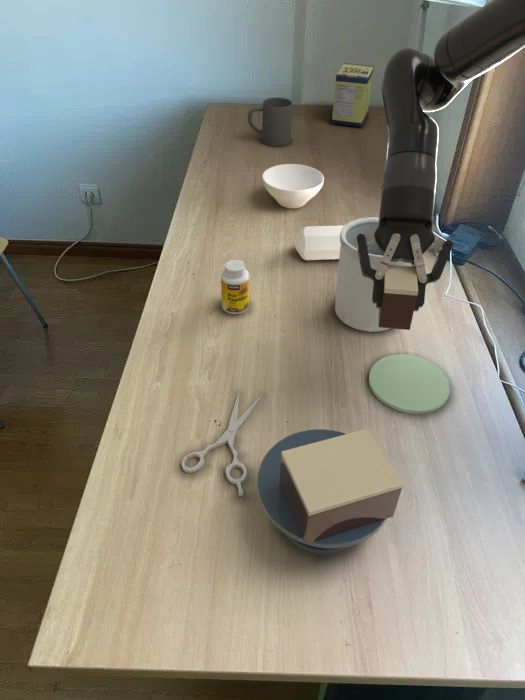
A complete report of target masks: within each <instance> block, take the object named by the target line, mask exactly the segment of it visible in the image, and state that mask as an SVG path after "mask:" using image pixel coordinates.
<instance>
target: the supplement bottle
mask: <svg viewBox="0 0 525 700" xmlns="http://www.w3.org/2000/svg"><path fill="white" fill-rule="evenodd" d="M220 290H221V291H220V293H221V308H222V310H223V311H224V312H226V313H228V314H230V315H239V314H243V313H245V312H247V310H248V309H249V306H250V274H249V271H248V270H247V269H246V263H245V262H244V261H242V260H239V259H231V260H228V261H226V262H225V263H224V270H222V272H221V273H220Z"/></svg>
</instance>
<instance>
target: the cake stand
mask: <svg viewBox="0 0 525 700" xmlns="http://www.w3.org/2000/svg"><path fill="white" fill-rule="evenodd" d="M394 468H395V467H393V465H392V464H391V462H390V460H389V459H388V457H387V456H386V453H385V452H384V450H383V449H382V447H381V446H380V444H379V442H378V441H377V440H376V438H375V436H374V434H373V433H372V431H371V430H370V428H365V429H361V430H358V431H353V432H350V433H345V432H342V431H338V430H333V429H322V428H321V429H318V428H315V429H306V430H301V431H298V432H295V433H292V434H290V435H288V436H286V437H284V438H282V439H280V440H279V441H277V443H275V444H274V445H273V446H272V447H271V448H269V450H268V451H267V453H266V454H265V455H264V457H263V458H262V461H261V462H260V466H259V469H258V473H257V494H258V499H259V502H260V506H261V507H262V509H263V511H264V513H265V514H266V516H267V518H268V519H269V520H270V521H271V522H272V524H273V525H274V526H275V527H276V528H277V529H278V530H280V531H281V533H283V534H284V535H285V536H286V538H287V539H288V540H289V541H290V542H291V543H292V544H294V545H295V546H297V548H299V549H301V550H304V551H306V552H308V553H312V554H317V555H331V554H335V553H340V552H342V551H344V550H346V549H348V548H349V547H351V546H355V545H358V544H361V543H363V542H365V541H367V540H368V539H370V538H371V537H373V536H374V535H375V534H377V533H378V532H379V531H380V530H381V528H383V526H384V525H385V524H386V522H387V521H388V519H390V518H393V517H394V515H395V512H396V509H397V506H398V502H399V499H400V496H401V493H402V490H403V487H404V483H403V482H402V479H401V478H400V476H399V475H398V473H397V471H396V470H395V469H394Z"/></svg>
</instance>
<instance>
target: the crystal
mask: <svg viewBox="0 0 525 700" xmlns="http://www.w3.org/2000/svg"><path fill="white" fill-rule="evenodd" d="M345 225H346V224H344V225H311V226H304V227H302V228H301V229H300V230H299V232H298V234H297V235H296V237H295V238H294V249H295V250H296V252H297V253H298V255H299V256H300V258H301V259H302V260H304V261H322V260H339V256H340V246H341V243H340V233H341V230H342V228H343V227H344V226H345Z"/></svg>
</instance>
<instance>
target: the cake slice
mask: <svg viewBox="0 0 525 700" xmlns="http://www.w3.org/2000/svg"><path fill="white" fill-rule="evenodd" d="M383 281H384V288H383V298H382V307H381V308H379V327H383V328H391V329H393V330H394V329H395V330H407V331H410V330H411V326H412V321H413V318H414V312H415V311H414V308H415V304H416V299H417V295H418V282H417V273H416V269H414V267H413V266H400V265H388V268H387V270H386V272H385V274H384V277H383Z"/></svg>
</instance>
